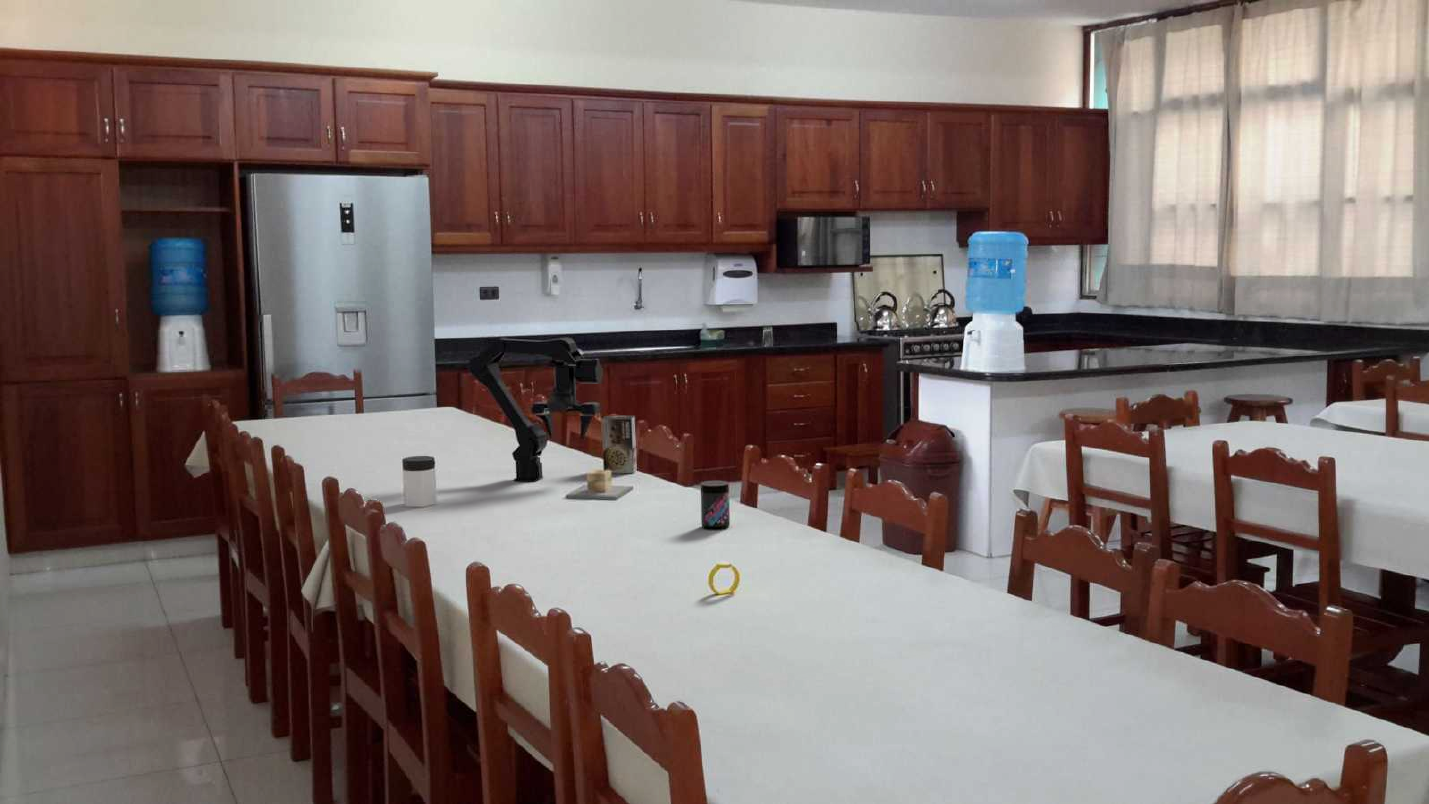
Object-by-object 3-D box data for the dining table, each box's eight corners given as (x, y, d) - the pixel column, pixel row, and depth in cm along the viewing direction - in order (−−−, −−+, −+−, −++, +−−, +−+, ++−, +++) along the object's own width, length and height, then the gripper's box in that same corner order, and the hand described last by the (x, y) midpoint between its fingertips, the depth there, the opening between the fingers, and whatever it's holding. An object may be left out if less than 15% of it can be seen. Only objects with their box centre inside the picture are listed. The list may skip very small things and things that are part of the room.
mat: (565, 498, 327) (565, 494, 327) (584, 487, 341) (584, 484, 341) (616, 499, 324) (616, 496, 324) (633, 489, 337) (633, 486, 337)
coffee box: (637, 469, 367) (635, 415, 365) (633, 473, 361) (632, 418, 359) (606, 469, 368) (605, 415, 366) (602, 473, 362) (601, 418, 359)
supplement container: (698, 530, 288) (697, 485, 287) (704, 523, 295) (703, 480, 293) (726, 531, 287) (726, 486, 285) (732, 524, 293) (731, 480, 292)
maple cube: (587, 491, 330) (587, 473, 330) (594, 488, 335) (593, 469, 335) (605, 492, 329) (604, 473, 329) (611, 488, 334) (611, 470, 333)
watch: (734, 590, 239) (735, 560, 238) (741, 594, 236) (742, 563, 236) (706, 593, 236) (707, 562, 235) (712, 596, 233) (714, 565, 233)
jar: (439, 506, 321) (436, 459, 319) (406, 508, 318) (404, 462, 316) (434, 499, 329) (432, 454, 327) (402, 502, 326) (400, 456, 325)
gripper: (522, 386, 342) (524, 442, 344) (586, 386, 338) (588, 444, 340) (538, 381, 353) (540, 436, 355) (600, 382, 348) (602, 437, 350)
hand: (567, 438), depth 350 cm, fingers open, 9 cm apart
